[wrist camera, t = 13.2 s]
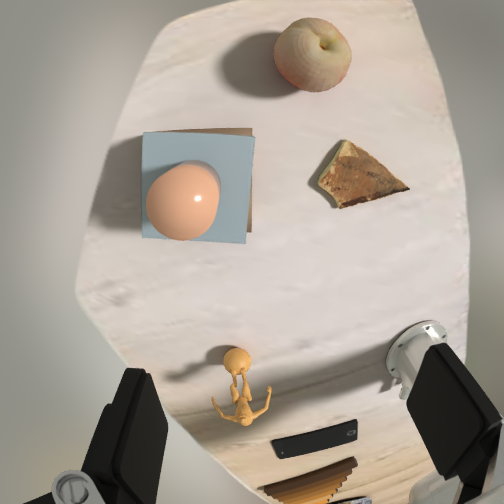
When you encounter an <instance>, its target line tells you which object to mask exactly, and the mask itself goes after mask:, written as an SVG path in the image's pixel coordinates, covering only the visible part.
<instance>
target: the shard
mask: <svg viewBox="0 0 504 504" xmlns="http://www.w3.org/2000/svg"><path fill="white" fill-rule="evenodd" d="M318 185H319V186H320V187H321V188H323V189H324V190H326V191H327V192H328V193H329V194H331V195H332V196H333V197H334V199H335V201H336V204H337V206H338V208H339V209H342V208H345V207H348V206H354V205H357V204H359V203H365V202H368V201H372V200H376V199H380V198H383V197H386V196H389V195H392V194H394V193H397V192H404V191H407V190H410V188H408V187H407V186H406V185H405V184H404V183H403V182H402V181H400V180H399V179H397V178H396V177H395V176H394V175H393V174H391V173H390V172H389V171H388V169H387V168H386V167H385V166H383V165H382V164H381V163H379V162H378V161H377V160H376V159H375V158H374V157H373V156H371V155H369V153H367V152H366V151H364V150H363V149H362V148H360V147H357V146H356V145H354V144H353V143H352V142H351V141H348V140H344V141H343V142H342V144H341V146H340V147H339V149H338V151H337V152H336V154H335V156H334V158H333V159H332V161H331V162H330V163H329V165H328V166H327V167H326V168H325V170H324V171H323V173H322V174H321V175H320V177H319V180H318Z"/></svg>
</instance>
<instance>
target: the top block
mask: <svg viewBox="0 0 504 504" xmlns="http://www.w3.org/2000/svg"><path fill="white" fill-rule="evenodd" d="M254 145H255V137H254V136H247V135H233V134H217V133H196V132H144V133H143V143H142V180H141V208H142V238H157V239H170V238H168V237H166V236H164V235H162V234H161V233H159V232H158V231H157V230H156V229H155V228H154V227H153V225H152V224H151V222H150V220H149V218H148V215H147V212H146V197H147V194H148V191H149V189H150V187H151V185H152V184H153V183H154V182H155V181H156V179H158V178H159V177H160V176H162V175H163V174H165V173H166V172H168V171H169V170H171V169H172V168H174V167H175V166H177V165H178V164H180V163H182V162H184V161H187V160H200V161H203V162H206V163H208V164H209V165H211V166H212V167H213V168H214V169H215V170H216V172H217V173H218V175H219V178H220V181H221V193H220V198H219V202H218V207H217V212H216V216H215V219H214V221H213V223H212V225H211V226H210V227H209V229H208V230H207V231H206V232H205V233H203V234H202V235H200V236H199V237H197V238H194V239H191V240H190V241H206V242H222V243H238V244H246V232H247V221H248V210H249V199H250V188H251V177H252V166H253V155H254ZM173 240H174V239H173Z"/></svg>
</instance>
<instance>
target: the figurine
mask: <svg viewBox="0 0 504 504" xmlns="http://www.w3.org/2000/svg"><path fill="white" fill-rule="evenodd" d="M223 363H224V367H225V369H226V370H227V371H228V372H229V373H231V374H232V377H233V382H234V383H233V384H231V386H230V390H231V395H232V403H233V404H236V403H238V406H237V409H236V411H235V416H229V415H223V413H222V411H221V410H220V408H219V407H218V406H217V405H216V404H215V399H213V397H212V403H213V405H214V407H215V408H216V410H217V411H218V412H219V414H220V416H221V417H222V418H224V419H227V420H231V421H233V422H238V423H240V424H241V425H243V426H248V425H250V424H251V423H252V421H253V419H255V418H257V417H258V416H259V415H260V414H262V413H264V412H265V411H266V410H267V409H268V405H269V401H270V396H271V391H272V390H271V388H270V389H269V387H270V386H268V389H269V390H268V389H267V391H268V392H269V394H268V396H267V398H266V403H265V407H264V408H262V409H260V410H258V411H256V412H252V411H251V409H250V407H249V405H248V403H247V401H251V400H252V396H251V394H250V388H249V386H248V381H247V380H246V374H245V372H246V371H248V369H249V368H250V365H251V358H250V355H249V354H248V352H247V351H245V350H244V349H241V348H233V349H231V350H229V351H228V352H227V353H226V354H225V356H224V359H223ZM241 374H242V377H243V381H244V382H243V388H242V394H243V396H240V397H239V392H238V390H237V389H235V387H237V380H236V375H241Z"/></svg>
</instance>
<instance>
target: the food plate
mask: <svg viewBox="0 0 504 504" xmlns="http://www.w3.org/2000/svg"><path fill="white" fill-rule="evenodd" d="M356 500H358V502H356ZM356 500H349V501H344V502H340V503H337V504H371V503H372V502H371V498H361V499H356ZM359 500H360V501H361V502H360V501H359ZM350 501H355V502H356V503H355V502H352V503H350Z"/></svg>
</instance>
